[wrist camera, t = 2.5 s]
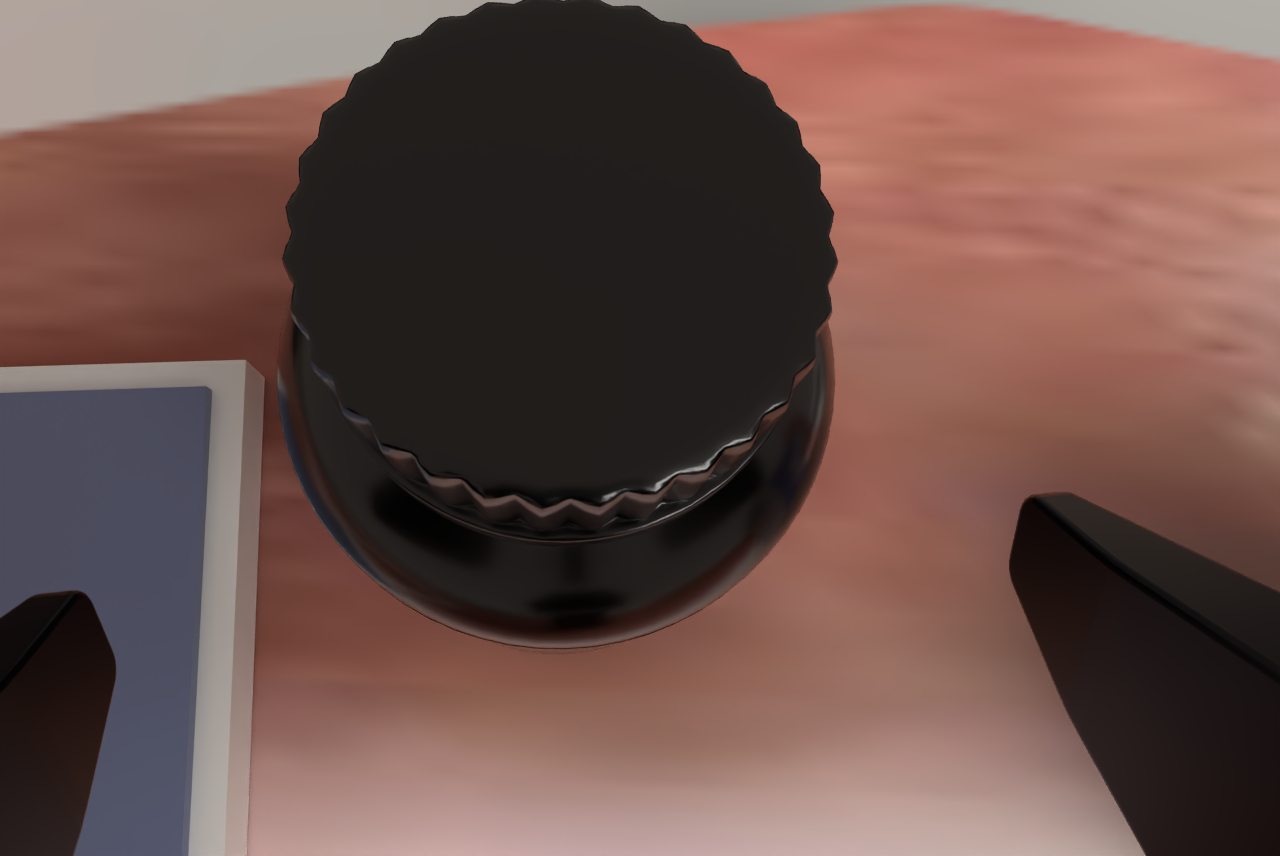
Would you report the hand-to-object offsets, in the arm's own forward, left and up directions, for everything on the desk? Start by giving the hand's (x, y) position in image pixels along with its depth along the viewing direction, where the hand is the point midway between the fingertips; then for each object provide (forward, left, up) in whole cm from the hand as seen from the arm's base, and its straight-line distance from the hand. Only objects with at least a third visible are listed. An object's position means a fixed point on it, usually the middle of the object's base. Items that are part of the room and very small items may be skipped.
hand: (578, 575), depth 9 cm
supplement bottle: (+3, 0, -10) cm, 11 cm away
